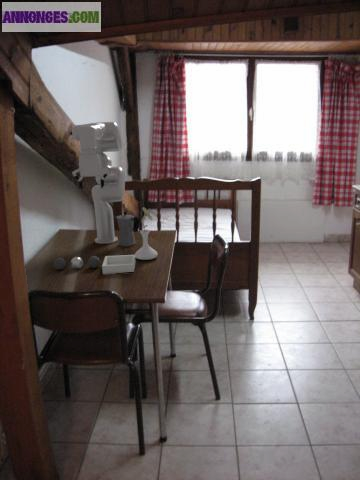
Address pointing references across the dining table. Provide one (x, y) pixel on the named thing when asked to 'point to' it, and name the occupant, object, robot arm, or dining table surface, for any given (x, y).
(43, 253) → the dining table surface
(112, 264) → the tray
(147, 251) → the flower in vase
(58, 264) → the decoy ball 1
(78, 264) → the steel ball
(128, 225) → the coffeepot
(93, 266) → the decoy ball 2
